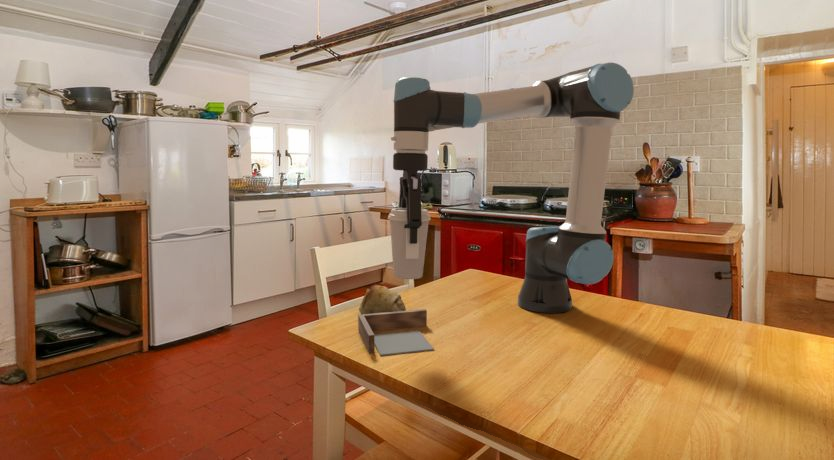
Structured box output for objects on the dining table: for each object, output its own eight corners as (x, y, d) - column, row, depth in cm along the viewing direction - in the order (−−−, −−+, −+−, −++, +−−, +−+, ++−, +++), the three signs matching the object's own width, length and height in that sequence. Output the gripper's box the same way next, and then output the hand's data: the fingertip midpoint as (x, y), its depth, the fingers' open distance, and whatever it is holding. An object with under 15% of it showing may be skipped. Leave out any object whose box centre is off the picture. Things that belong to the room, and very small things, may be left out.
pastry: (351, 309, 133) (351, 281, 132) (391, 303, 139) (391, 276, 138) (371, 324, 121) (371, 294, 120) (414, 317, 127) (414, 288, 126)
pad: (418, 331, 116) (418, 330, 116) (434, 350, 104) (434, 348, 104) (370, 336, 112) (370, 335, 112) (380, 355, 101) (380, 354, 101)
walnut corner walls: (425, 324, 121) (425, 309, 120) (444, 345, 107) (444, 328, 106) (358, 330, 116) (358, 314, 116) (369, 353, 102) (368, 335, 102)
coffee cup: (434, 273, 110) (436, 208, 108) (422, 282, 101) (424, 212, 99) (395, 269, 113) (396, 206, 111) (380, 278, 104) (381, 210, 102)
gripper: (387, 153, 113) (386, 245, 116) (400, 150, 92) (398, 264, 95) (418, 154, 115) (416, 245, 118) (438, 151, 93) (435, 263, 96)
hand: (408, 253), depth 106 cm, fingers closed on coffee cup, 9 cm apart
